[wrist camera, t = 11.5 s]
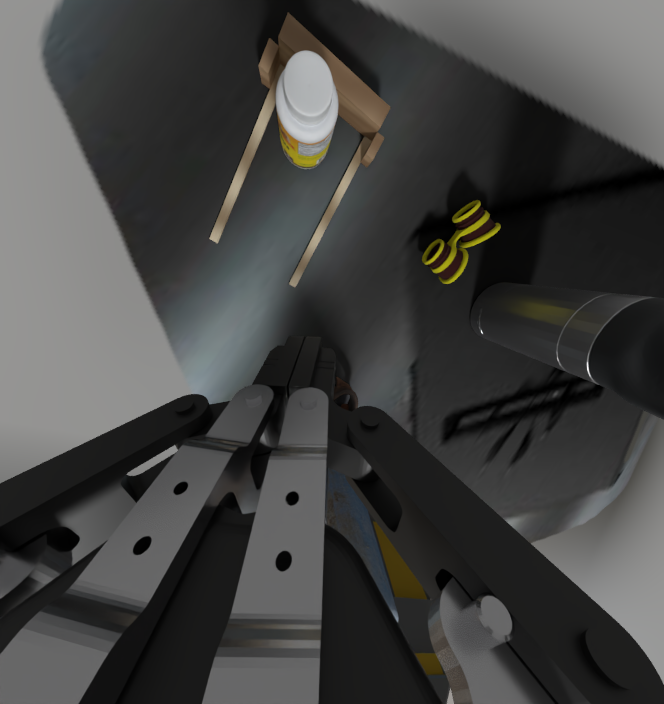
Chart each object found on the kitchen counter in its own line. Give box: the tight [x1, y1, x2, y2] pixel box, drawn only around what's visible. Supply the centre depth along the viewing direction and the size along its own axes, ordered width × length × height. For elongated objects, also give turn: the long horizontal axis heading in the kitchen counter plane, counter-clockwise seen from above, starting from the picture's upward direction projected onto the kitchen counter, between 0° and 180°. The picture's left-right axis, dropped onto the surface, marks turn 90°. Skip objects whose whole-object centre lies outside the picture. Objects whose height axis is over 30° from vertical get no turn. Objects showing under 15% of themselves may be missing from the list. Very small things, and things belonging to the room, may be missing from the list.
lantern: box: [368, 511, 450, 704], centre depth 40 cm, size 14×14×30 cm
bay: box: [209, 13, 391, 287], centre depth 28 cm, size 22×14×4 cm, turn 149°
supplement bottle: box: [276, 50, 338, 169], centre depth 24 cm, size 6×6×10 cm
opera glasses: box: [422, 200, 501, 284], centre depth 33 cm, size 10×5×5 cm, turn 141°
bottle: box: [327, 468, 399, 622], centre depth 32 cm, size 10×10×30 cm
